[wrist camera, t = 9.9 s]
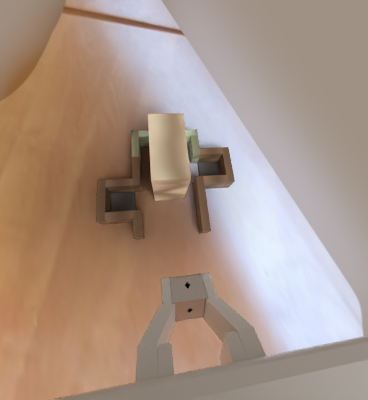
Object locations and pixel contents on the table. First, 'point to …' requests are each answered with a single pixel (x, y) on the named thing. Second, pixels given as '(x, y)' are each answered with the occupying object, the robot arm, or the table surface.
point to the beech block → (168, 156)
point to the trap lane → (125, 188)
